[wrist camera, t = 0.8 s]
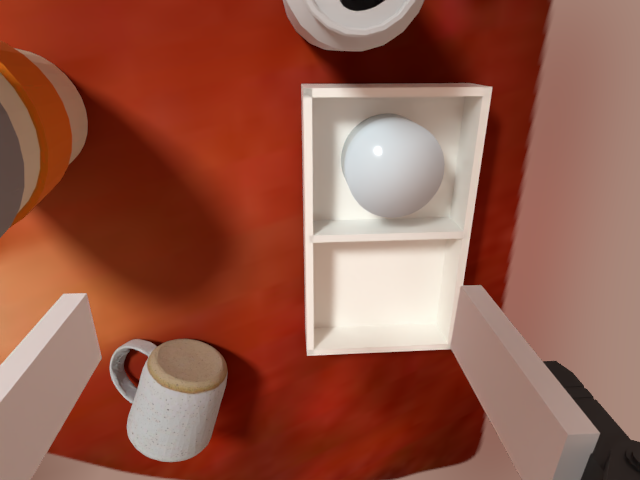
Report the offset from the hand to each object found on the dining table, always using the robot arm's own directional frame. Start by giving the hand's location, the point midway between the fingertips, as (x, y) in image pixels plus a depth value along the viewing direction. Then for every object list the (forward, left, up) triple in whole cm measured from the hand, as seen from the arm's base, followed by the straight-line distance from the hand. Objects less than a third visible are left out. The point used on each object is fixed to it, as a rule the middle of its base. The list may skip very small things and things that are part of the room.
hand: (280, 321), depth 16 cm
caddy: (+4, +8, -22) cm, 23 cm away
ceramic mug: (+19, -11, -22) cm, 31 cm away
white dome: (-1, +8, -21) cm, 22 cm away
